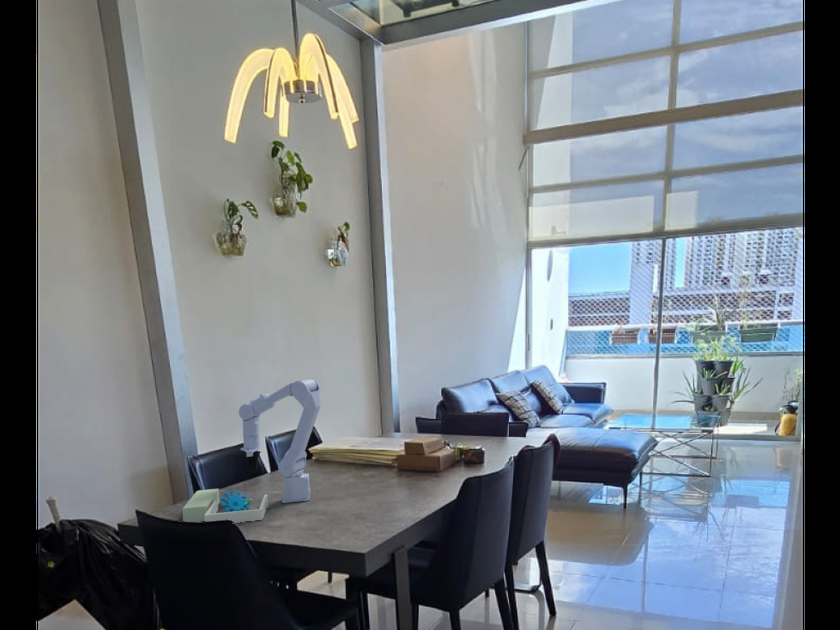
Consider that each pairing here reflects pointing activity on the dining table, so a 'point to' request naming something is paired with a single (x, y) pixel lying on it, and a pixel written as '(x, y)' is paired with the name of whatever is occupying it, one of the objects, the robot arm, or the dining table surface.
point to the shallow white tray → (236, 513)
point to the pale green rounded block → (199, 504)
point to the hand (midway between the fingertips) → (253, 472)
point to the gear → (235, 502)
